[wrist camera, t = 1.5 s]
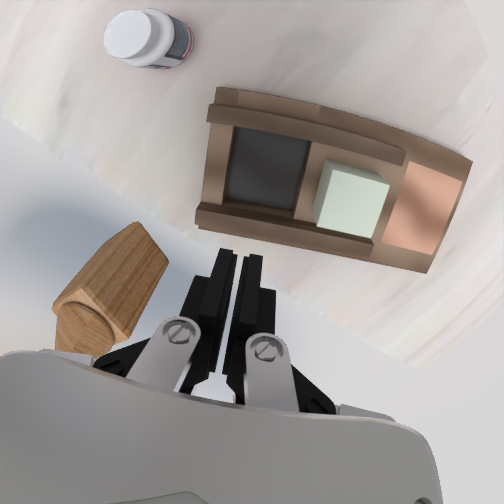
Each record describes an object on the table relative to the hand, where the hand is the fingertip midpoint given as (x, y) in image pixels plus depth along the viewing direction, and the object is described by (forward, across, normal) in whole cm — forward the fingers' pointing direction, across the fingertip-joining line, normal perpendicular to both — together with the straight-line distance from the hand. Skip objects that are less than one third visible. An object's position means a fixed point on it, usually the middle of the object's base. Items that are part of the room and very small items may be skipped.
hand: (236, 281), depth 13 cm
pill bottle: (+19, +11, -11) cm, 25 cm away
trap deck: (+19, -8, 0) cm, 21 cm away
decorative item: (+19, +13, +13) cm, 27 cm away
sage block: (+17, -8, 0) cm, 18 cm away
